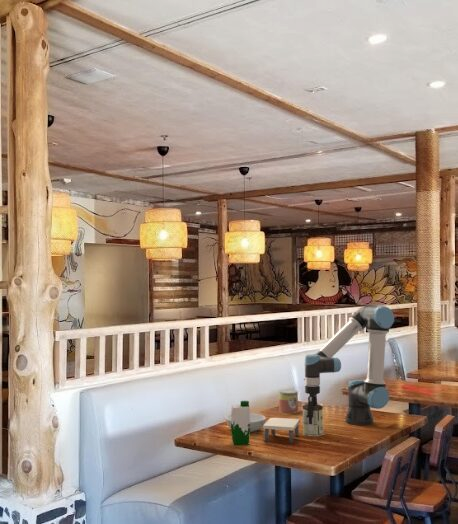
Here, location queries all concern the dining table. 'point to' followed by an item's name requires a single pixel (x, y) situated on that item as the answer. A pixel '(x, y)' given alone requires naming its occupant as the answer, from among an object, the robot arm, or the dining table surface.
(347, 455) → the dining table surface
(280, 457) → the dining table surface
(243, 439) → the milk carton
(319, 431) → the coffee can
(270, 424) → the peg stand
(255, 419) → the serving bowl
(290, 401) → the canned food
